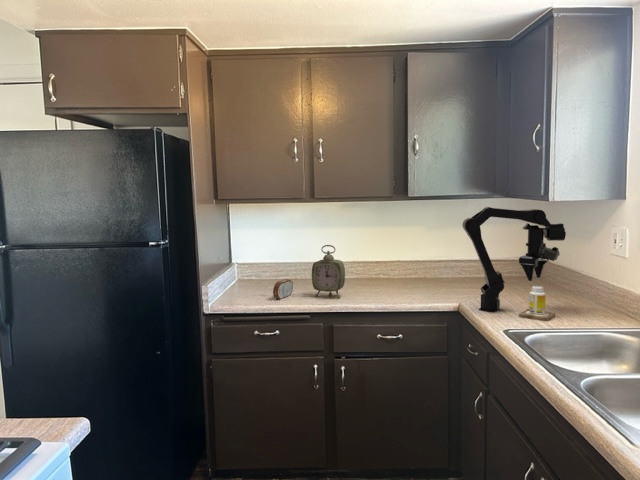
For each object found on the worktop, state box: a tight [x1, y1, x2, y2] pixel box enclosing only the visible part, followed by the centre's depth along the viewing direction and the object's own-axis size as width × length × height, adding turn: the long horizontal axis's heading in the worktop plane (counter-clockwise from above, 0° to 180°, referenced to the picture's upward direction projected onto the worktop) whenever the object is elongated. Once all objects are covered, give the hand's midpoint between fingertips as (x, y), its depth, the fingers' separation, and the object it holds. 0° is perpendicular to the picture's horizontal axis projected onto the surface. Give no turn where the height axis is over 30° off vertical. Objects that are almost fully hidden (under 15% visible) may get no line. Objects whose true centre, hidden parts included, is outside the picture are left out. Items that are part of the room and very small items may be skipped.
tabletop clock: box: [311, 244, 346, 299], centre depth 215 cm, size 14×9×25 cm, turn 72°
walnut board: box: [518, 308, 556, 322], centre depth 175 cm, size 10×10×1 cm
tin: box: [272, 278, 294, 300], centre depth 217 cm, size 15×3×8 cm, turn 154°
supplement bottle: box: [528, 285, 546, 314], centre depth 174 cm, size 6×6×10 cm
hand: (534, 279), depth 182 cm, fingers open, 9 cm apart
